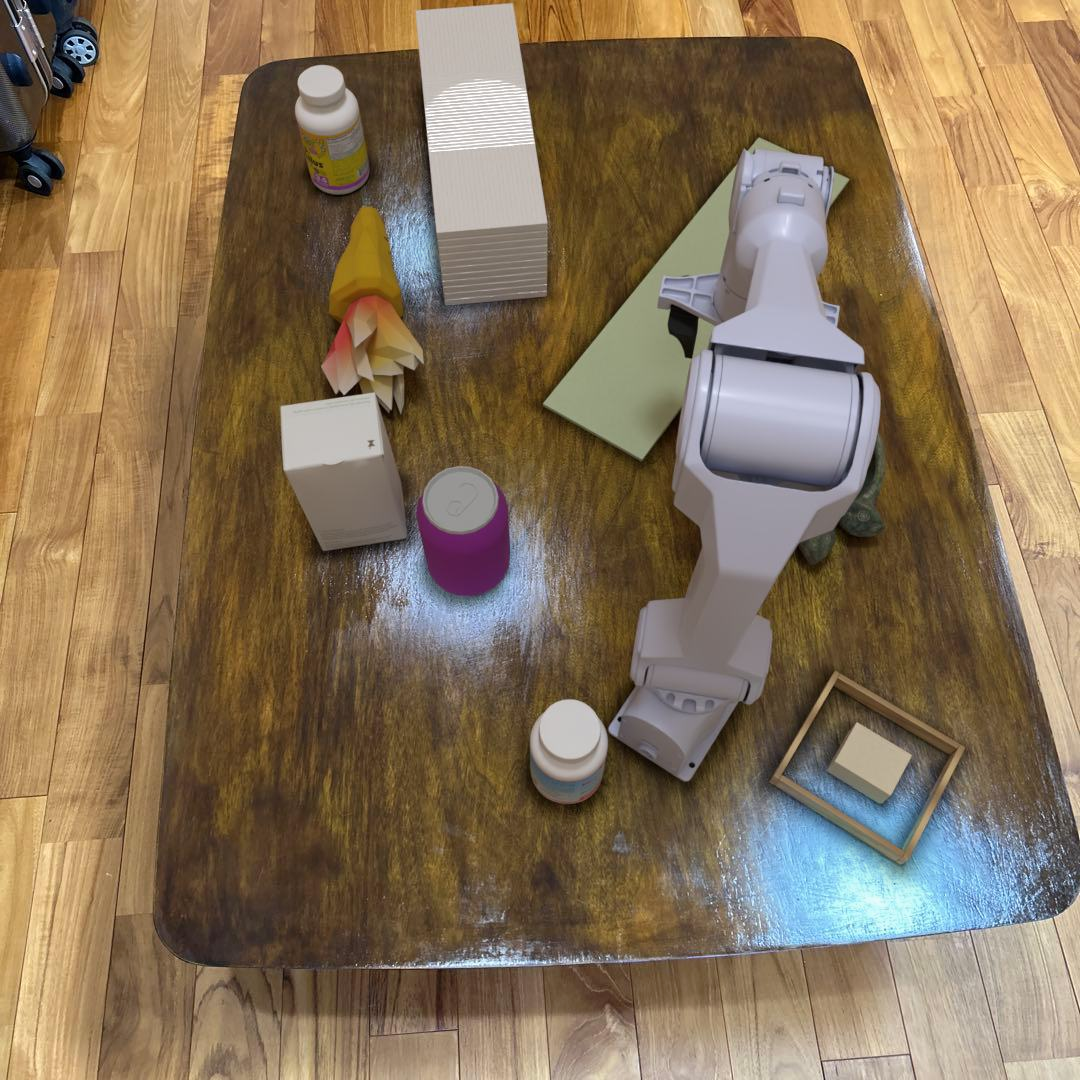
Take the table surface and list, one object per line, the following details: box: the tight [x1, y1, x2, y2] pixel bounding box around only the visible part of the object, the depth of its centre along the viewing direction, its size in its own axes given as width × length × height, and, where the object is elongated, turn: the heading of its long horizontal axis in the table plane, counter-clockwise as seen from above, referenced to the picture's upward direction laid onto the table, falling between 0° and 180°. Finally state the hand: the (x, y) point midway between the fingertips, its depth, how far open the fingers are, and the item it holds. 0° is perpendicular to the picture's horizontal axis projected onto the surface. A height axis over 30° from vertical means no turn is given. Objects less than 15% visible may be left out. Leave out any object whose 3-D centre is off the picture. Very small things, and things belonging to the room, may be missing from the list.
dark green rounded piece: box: [797, 431, 887, 566], centre depth 97 cm, size 15×15×10 cm
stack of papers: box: [414, 2, 549, 307], centre depth 115 cm, size 32×11×11 cm, turn 7°
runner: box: [542, 137, 850, 463], centre depth 113 cm, size 44×12×1 cm, turn 146°
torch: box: [320, 205, 425, 415], centre depth 108 cm, size 8×8×25 cm
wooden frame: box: [768, 670, 966, 866], centre depth 89 cm, size 11×12×2 cm
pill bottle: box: [529, 698, 609, 805], centre depth 85 cm, size 6×6×11 cm
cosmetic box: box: [280, 392, 408, 552], centre depth 94 cm, size 8×7×16 cm
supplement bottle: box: [294, 64, 371, 196], centre depth 115 cm, size 7×7×13 cm
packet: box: [825, 721, 913, 805], centre depth 89 cm, size 4×5×3 cm
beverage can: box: [415, 465, 511, 597], centre depth 93 cm, size 8×8×12 cm
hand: (732, 356), depth 96 cm, fingers open, 7 cm apart
